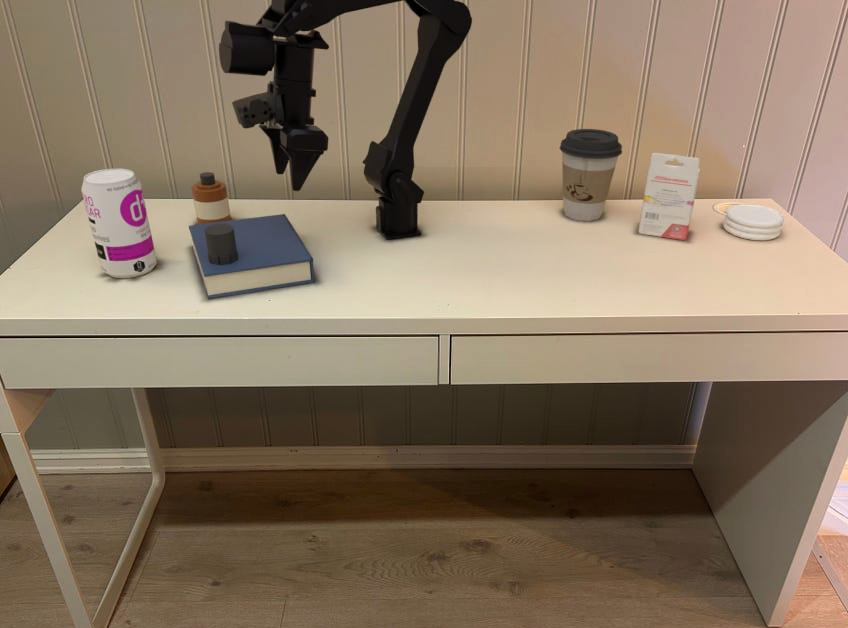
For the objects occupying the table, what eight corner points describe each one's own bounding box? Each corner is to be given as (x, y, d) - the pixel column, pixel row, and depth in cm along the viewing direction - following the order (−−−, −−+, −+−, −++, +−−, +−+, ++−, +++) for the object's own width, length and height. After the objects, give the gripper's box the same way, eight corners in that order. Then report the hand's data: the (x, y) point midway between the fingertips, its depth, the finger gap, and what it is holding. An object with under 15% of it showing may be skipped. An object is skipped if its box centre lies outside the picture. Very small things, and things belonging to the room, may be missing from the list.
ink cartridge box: (688, 231, 134) (705, 151, 126) (685, 241, 130) (702, 159, 122) (641, 224, 136) (654, 145, 129) (636, 233, 132) (650, 152, 125)
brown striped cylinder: (228, 215, 136) (221, 167, 131) (233, 227, 131) (226, 177, 126) (195, 219, 134) (187, 171, 129) (199, 231, 129) (191, 181, 124)
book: (286, 235, 128) (284, 213, 126) (315, 282, 113) (313, 258, 111) (192, 248, 123) (188, 225, 121) (208, 299, 108) (204, 274, 105)
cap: (220, 251, 112) (216, 222, 110) (243, 256, 111) (239, 226, 108) (203, 262, 109) (198, 231, 106) (226, 266, 108) (221, 236, 105)
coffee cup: (545, 219, 137) (553, 139, 130) (561, 200, 146) (569, 124, 138) (605, 229, 134) (617, 147, 126) (618, 209, 143) (629, 131, 135)
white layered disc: (749, 244, 129) (754, 226, 127) (711, 225, 137) (715, 207, 135) (791, 236, 133) (797, 218, 131) (751, 218, 140) (756, 200, 138)
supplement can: (168, 262, 118) (150, 171, 110) (134, 283, 111) (112, 187, 103) (127, 254, 120) (106, 164, 112) (90, 275, 114) (65, 180, 106)
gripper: (224, 62, 112) (223, 164, 119) (253, 85, 98) (250, 199, 105) (295, 69, 117) (290, 166, 124) (333, 92, 103) (325, 200, 110)
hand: (287, 182), depth 116 cm, fingers open, 9 cm apart
